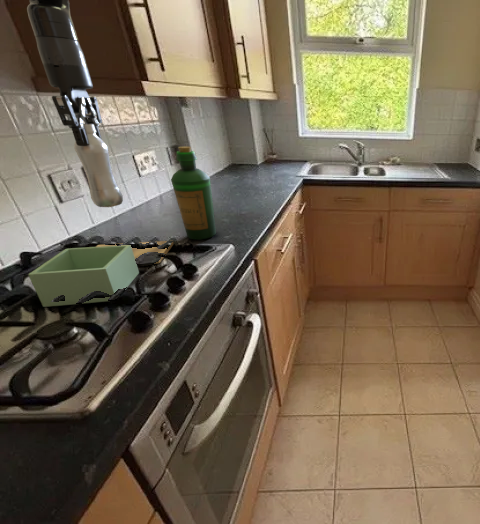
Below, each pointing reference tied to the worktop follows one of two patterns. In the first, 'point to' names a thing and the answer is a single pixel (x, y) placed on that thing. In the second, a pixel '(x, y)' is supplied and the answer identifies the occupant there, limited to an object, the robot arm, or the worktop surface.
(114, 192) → the plastic bottle
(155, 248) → the board
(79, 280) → the bin
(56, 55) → the robot arm
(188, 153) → the bottle
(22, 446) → the worktop surface
